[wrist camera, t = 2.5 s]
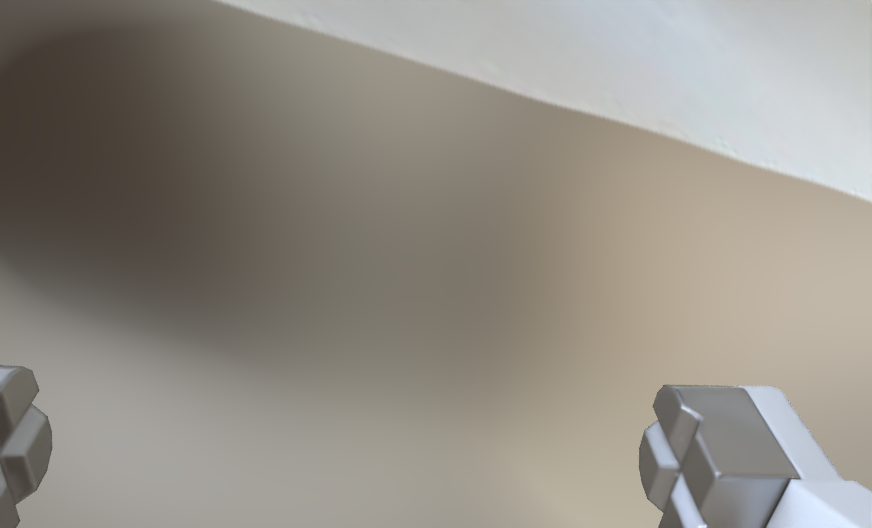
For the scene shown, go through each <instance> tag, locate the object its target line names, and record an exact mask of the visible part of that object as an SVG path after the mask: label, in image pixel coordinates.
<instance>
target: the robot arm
mask: <svg viewBox="0 0 872 528" xmlns="http://www.w3.org/2000/svg"><path fill="white" fill-rule="evenodd" d="M38 392H39V388H38V385H37V382H36V380H35V377H34V374H33V371H32V370H30V369H27V368H25V367H22V366H4V365H0V528H16V527H17V525H18V524H19V522H20V519H19V516H18V512H17V509H16V506H15V505H16V504H18V503H19V502H20V501H22V500H23V499H25V498H26V497H28V496H29V495H31V494H32V493H33V492H35V491H36V490H37V488H38V487H39V485H40V483H41V481H42V479H43V477H44V475H45V473H46V471H47V468H48V464H49V459H50V455H51V451H52V431H51V427H50V424H49V420H48V416H46V415H45V414H44V413H43V412H41V411H40V410H39V409H38V408H37V407H35V406H34V405H33V404H32V401H33V400H34V398H35V397H36V395H37V393H38ZM653 408H654V410H655V413H656V415H657V418H658V420H657V421H656V422H654V423H653V424H652V425H651V426H649V427H648V428H647V429H645V431H644V434H643V437H642V441H641V444H640V448H639V470H640V475H641V481H642V485H643V488H644V490H645V493H646V496H647V499H648V500H649V501H651V503H653V504H654V505H655V506H656V507H657V508H658V509H660V510H661V511H662V512H663V513H664V514H663V516H662V519H661V522H660V524H659V528H872V492H871V491H870V490H868V489H867V488H865V487H864V486H862V485H861V484H859V483H858V482H856V481H844V480H843V479H842V477H841V476H840V474H839V473H838V471H837V470H836V469H835V467H834V466H833V464H832V463H831V461H830V460H829V458H828V457H827V456H826V454H825V453H824V451H823V450H822V448H821V447H820V445H819V444H818V442H817V441H816V440H815V438H814V437H813V435H812V434H811V432H810V431H809V429H808V428H807V427H806V425H805V424H804V422H803V421H802V420H801V418H800V416H799V415H798V414H797V412H796V411H795V409H794V408H793V406H792V405H791V403H789V400H788V399H787V398H786V396H785V395H784V393H783V392H782V391H780V390H779V389H777V388H776V387H774V386H736V387H734V386H706V385H701V386H700V385H663V387H662V388H661V389H660V390H659V391H658V393H657V395H656V398H655V401H654V404H653Z"/></svg>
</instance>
